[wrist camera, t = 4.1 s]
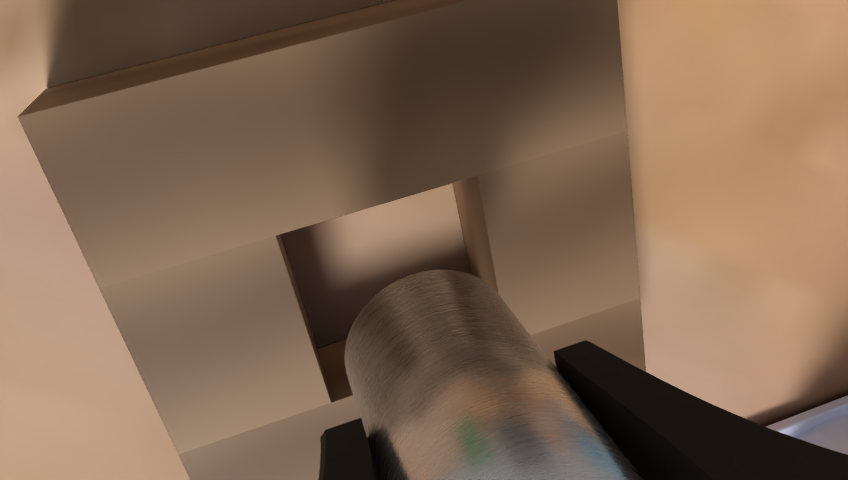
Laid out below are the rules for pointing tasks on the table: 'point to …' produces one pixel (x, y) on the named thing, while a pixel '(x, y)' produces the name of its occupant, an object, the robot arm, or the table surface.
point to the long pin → (467, 390)
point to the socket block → (341, 198)
